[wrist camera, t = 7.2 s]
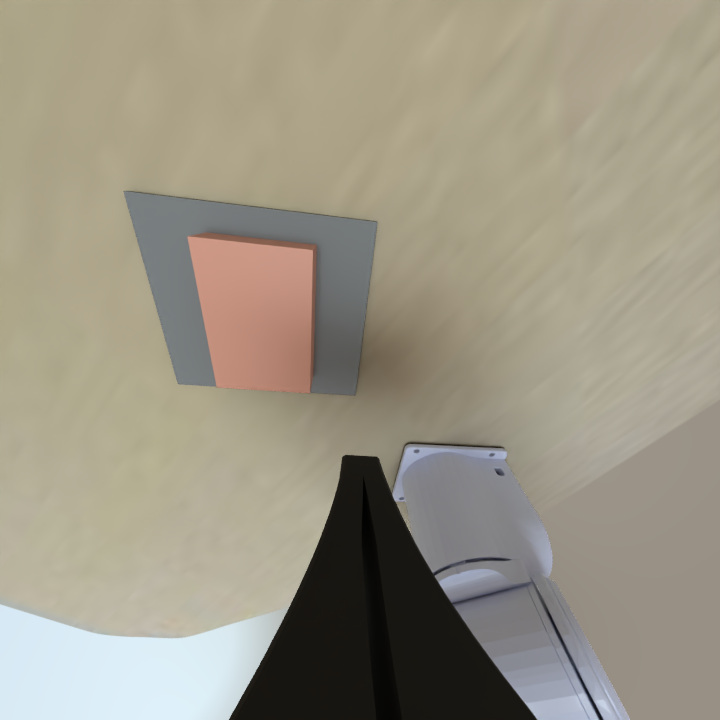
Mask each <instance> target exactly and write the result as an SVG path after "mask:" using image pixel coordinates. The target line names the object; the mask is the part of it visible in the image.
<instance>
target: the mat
mask: <svg viewBox="0 0 720 720" xmlns="http://www.w3.org/2000/svg"><path fill="white" fill-rule="evenodd" d="M124 195H125V198H126V202H127V205H128V209H129V212H130V216H131V219H132V223H133V227H134V230H135V234H136V237H137V241H138V244H139V248H140V251H141V255H142V258H143V262H144V265H145V269H146V273H147V276H148V280H149V283H150V287H151V290H152V294H153V297H154V301H155V304H156V308H157V312H158V315H159V319H160V322H161V326H162V329H163V333H164V336H165V340H166V343H167V347H168V351H169V354H170V358H171V361H172V365H173V368H174V372H175V375H176V379H177V382H178V384H183V385H198V386H214V387H217V386H216V381H215V376H214V371H213V366H212V361H211V355H210V350H209V345H208V340H207V335H206V330H205V325H204V320H203V314H202V309H201V304H200V299H199V294H198V289H197V284H196V278H195V273H194V268H193V263H192V258H191V253H190V248H189V243H188V237H187V236H191V235H196V234H201V233H205V232H208V233H217V234H226V235H234V236H243V237H252V238H261V239H270V240H279V241H288V242H297V243H306V244H315V245H317V259H316V296H315V333H314V370H313V381H312V386H311V391H310V393H323V394H338V395H354V396H355V394H356V386H357V378H358V370H359V362H360V354H361V347H362V339H363V331H364V323H365V315H366V307H367V299H368V291H369V283H370V276H371V268H372V260H373V252H374V244H375V236H376V228H377V222H375V221H367V220H358V219H350V218H342V217H334V216H326V215H317V214H309V213H301V212H293V211H285V210H277V209H268V208H260V207H252V206H244V205H236V204H227V203H219V202H211V201H203V200H195V199H187V198H178V197H170V196H162V195H154V194H146V193H137V192H129V191H124Z"/></svg>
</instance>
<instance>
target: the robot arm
mask: <svg viewBox="0 0 720 720" xmlns="http://www.w3.org/2000/svg"><path fill="white" fill-rule="evenodd" d="M416 449H417V450H416ZM506 456H507V451H506V450H505V449H502V448H483V447H462V446H442V445H422V444H408V445H407V446H405V449H404V452H403V456H402V460H401V463H400V467H399V470H398V474H397V478H396V481H395V485H394V488H393V492H392V493H391V491H390V488H389V486H388V483H387V481H386V478H385V476H384V473H383V470H382V467H381V464H380V461H379V458H378V457H372V456H354V455H345V456H343V457H342V464H341V471H340V479H339V483H338V487H337V491H336V494H335V497H334V501H333V504H332V507H331V510H330V513H329V516H328V519H327V522H326V524H325V527H324V530H323V532H322V535H321V538H320V540H319V543H318V545H317V548H316V550H315V552H314V555H313V557H312V559H311V562H310V564H309V566H308V569H307V571H306V573H305V575H304V577H303V580H302V582H301V584H300V586H299V588H298V590H297V592H296V595H295V597H294V599H293V601H292V603H291V605H290V607H289V609H288V611H287V613H286V615H285V617H284V619H283V621H282V623H281V625H280V627H279V629H278V631H277V633H276V634H275V636H274V638H273V640H272V642H271V644H270V646H269V648H268V650H267V652H266V654H265V656H264V658H263V660H262V661H261V663H260V665H259V667H258V669H257V670H256V672H255V674H254V676H253V678H252V679H251V681H250V683H249V685H248V687H247V688H246V690H245V692H244V694H243V695H242V697H241V699H240V701H239V703H238V705H237V706H236V708H235V710H234V711H233V713H232V715H231V717H230V719H229V720H630V718H629V716H628V714H627V712H626V710H625V709H624V707H623V705H622V703H621V701H620V699H619V697H618V695H617V694H616V692H615V690H614V688H613V686H612V684H611V682H610V680H609V679H608V677H607V675H606V673H605V671H604V669H603V667H602V666H601V664H600V662H599V660H598V658H597V656H596V654H595V653H594V651H593V649H592V647H591V645H590V643H589V642H588V640H587V638H586V636H585V635H584V633H583V631H582V629H581V627H580V625H579V623H578V622H577V620H576V618H575V616H574V614H573V612H572V611H571V609H570V607H569V605H568V603H567V602H566V600H565V598H564V596H563V594H562V593H561V591H560V589H559V587H558V586H557V584H556V582H555V581H552V580H551V579H549V578H548V577H549V575H550V573H551V569H552V562H553V561H552V560H553V558H552V550H551V545H550V541H549V538H548V535H547V532H546V529H545V527H544V525H543V523H542V521H541V519H540V517H539V516H538V514H537V512H536V511H535V509H534V507H533V506H532V504H531V502H530V501H529V499H528V498H527V496H526V494H525V493H524V491H523V489H522V488H521V486H520V484H519V483H518V481H517V479H516V478H515V476H514V474H513V473H512V471H511V470H510V468H509V466H508V465H507V463H506V461H505V458H506ZM395 501H402V502H406V506H407V512H408V517H409V522H410V527H411V533H412V535H411V533H410V531H409V530H408V528H407V526H406V524H405V522H404V520H403V517H402V515H401V513H400V511H399V509H398V507H397V504H396V502H395ZM537 586H538V587H537ZM538 588H539V589H538Z"/></svg>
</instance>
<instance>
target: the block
mask: <svg viewBox="0 0 720 720" xmlns="http://www.w3.org/2000/svg"><path fill="white" fill-rule="evenodd" d="M187 237H188V243H189V248H190V253H191V258H192V263H193V268H194V273H195V278H196V284H197V289H198V294H199V299H200V304H201V309H202V314H203V320H204V325H205V330H206V335H207V340H208V345H209V350H210V355H211V361H212V366H213V371H214V376H215V381H216V386H217V387H220V388H236V389H251V390H267V391H283V392H298V393H310V391H311V386H312V381H313V370H314V333H315V296H316V259H317V245H315V244H306V243H297V242H288V241H279V240H270V239H261V238H252V237H243V236H234V235H226V234H217V233H208V232H205V233H201V234H196V235H191V236H187Z"/></svg>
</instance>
